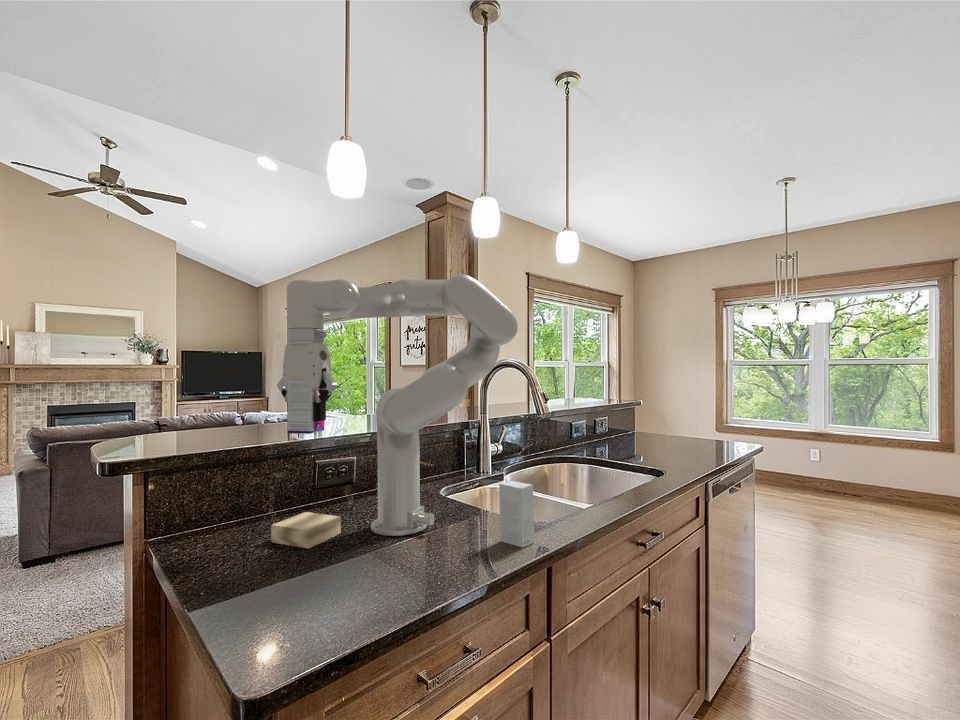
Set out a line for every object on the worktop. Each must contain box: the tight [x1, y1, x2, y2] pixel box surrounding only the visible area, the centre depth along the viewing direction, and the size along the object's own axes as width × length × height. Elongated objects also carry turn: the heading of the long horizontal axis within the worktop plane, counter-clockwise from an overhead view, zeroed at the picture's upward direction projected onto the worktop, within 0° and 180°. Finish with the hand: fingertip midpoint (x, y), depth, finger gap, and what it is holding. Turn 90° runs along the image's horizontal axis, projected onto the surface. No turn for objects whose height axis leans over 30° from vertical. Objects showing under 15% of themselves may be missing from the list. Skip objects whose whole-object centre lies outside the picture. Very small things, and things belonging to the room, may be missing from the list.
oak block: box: [270, 511, 342, 550], centre depth 106 cm, size 10×10×4 cm
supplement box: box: [286, 380, 325, 435], centre depth 106 cm, size 6×6×12 cm
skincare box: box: [498, 480, 535, 549], centre depth 101 cm, size 6×4×12 cm
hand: (306, 419), depth 106 cm, fingers closed on supplement box, 6 cm apart
